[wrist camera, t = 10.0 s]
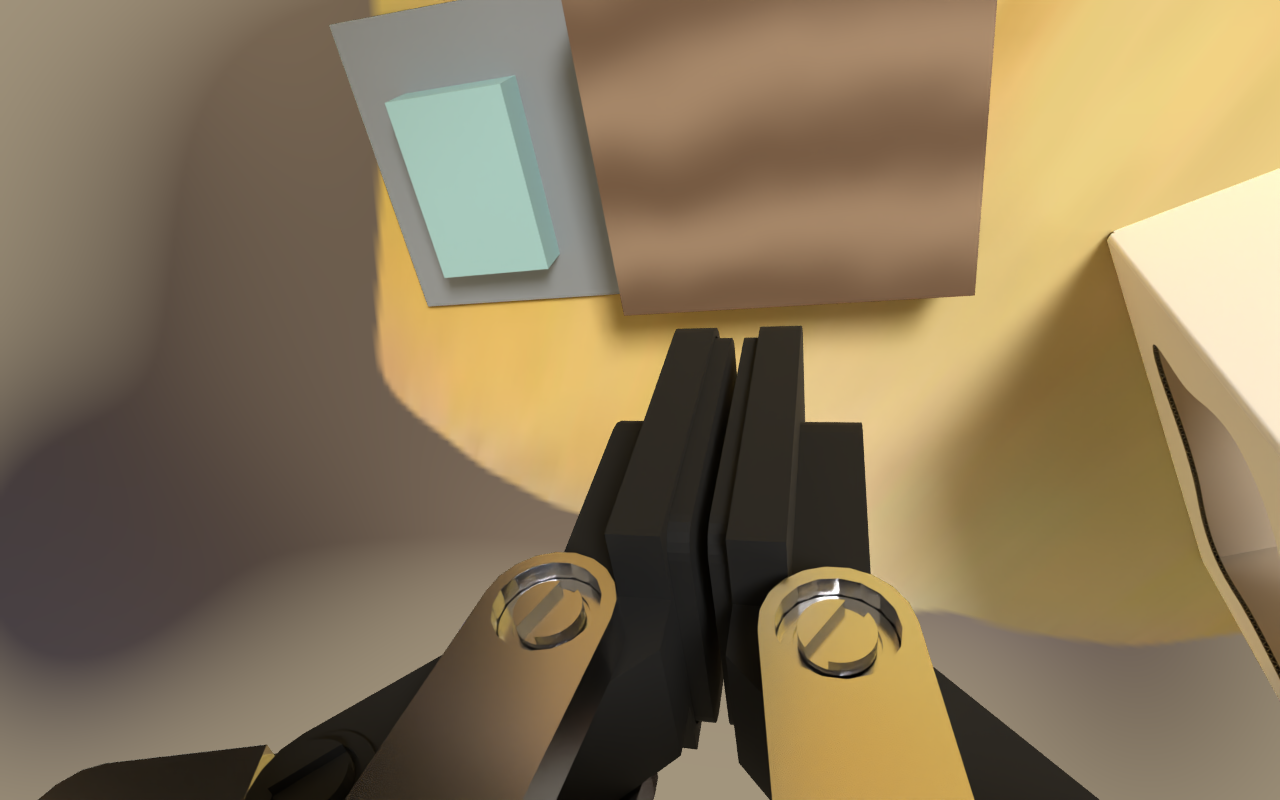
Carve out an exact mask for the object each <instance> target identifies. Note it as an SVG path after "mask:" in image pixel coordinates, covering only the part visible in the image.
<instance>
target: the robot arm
mask: <svg viewBox="0 0 1280 800" xmlns="http://www.w3.org/2000/svg"><path fill="white" fill-rule="evenodd" d="M723 679H724V686H725V694H726V701H727V709H728V717H729V723H730V724H731V725H734V728H735V736H736V744H737V752H738V759H739V763H740V765H742V767H743V768H744V769H745V771H746V772H747V773H748V774H749V775H750V776H751V778H752V779H753V780H754V781H755V783H756V784H757V785H758V786H759V787H760V789H761V790H762V791H763V792H764V793H765V795H766V796H767V797H768V798H769V799H770V800H1099V799H1098V798H1097V797H1095V796H1094V795H1093V794H1092V793H1090V792H1089V791H1088V790H1087V789H1085V788H1084V787H1083V786H1082V785H1080V784H1079V783H1078V782H1077V781H1075V780H1074V779H1073V778H1072V777H1070V776H1069V775H1068V774H1067V773H1065V772H1064V771H1063V770H1062V769H1060V768H1059V767H1058V766H1057V765H1055V764H1054V763H1053V762H1052V761H1050V760H1049V759H1048V758H1047V757H1045V756H1044V755H1043V754H1042V753H1040V752H1039V751H1038V750H1037V749H1035V748H1034V747H1033V746H1032V745H1030V744H1029V743H1028V742H1027V741H1025V740H1024V739H1023V738H1022V737H1020V736H1019V735H1018V734H1017V733H1015V732H1014V731H1013V730H1011V729H1010V728H1009V727H1008V726H1007V725H1005V724H1004V723H1003V722H1001V721H1000V720H999V719H998V718H997V717H995V716H994V715H993V714H991V713H990V712H989V711H988V710H987V709H985V708H984V707H983V706H981V705H980V704H979V703H978V702H977V701H975V700H974V699H973V698H972V697H970V696H969V695H968V694H967V693H965V692H964V691H963V690H962V689H960V688H959V687H958V686H957V685H955V684H954V683H953V682H952V681H950V680H949V679H948V678H946V677H945V676H944V675H943V674H942V673H940V672H939V671H938V670H936V669H935V668H934V667H933V665H932V663H931V659H930V656H929V653H928V649H927V646H926V644H925V640H924V637H923V633H922V630H921V627H920V624H919V621H918V619H917V617H916V615H915V613H914V611H913V609H912V608H911V606H910V604H909V602H908V601H907V600H906V599H905V598H904V597H903V596H902V595H901V594H900V593H899V592H898V591H897V590H896V589H895V588H894V587H893V586H891V585H889V584H887V583H886V582H884V581H882V580H880V579H879V578H877V577H875V576H873V575H871V573H870V555H869V537H868V519H867V500H866V482H865V464H864V446H863V429H862V423H846V422H805V403H804V363H803V331H802V326H775V327H760V331H759V337H758V338H744V342H743V347H742V352H741V357H740V362H739V368H738V373H737V371H736V359H735V347H734V341H733V338H720V336H719V332H718V329H717V328H695V329H676V331H675V333H674V336H673V339H672V342H671V345H670V347H669V350H668V353H667V356H666V359H665V362H664V365H663V367H662V370H661V373H660V376H659V379H658V382H657V385H656V387H655V390H654V393H653V396H652V399H651V402H650V405H649V407H648V410H647V413H646V416H645V419H644V421H620V422H618V423H617V424H616V426H615V427H614V429H613V431H612V434H611V436H610V439H609V441H608V444H607V446H606V449H605V451H604V454H603V456H602V459H601V461H600V464H599V466H598V469H597V471H596V474H595V476H594V479H593V481H592V484H591V486H590V489H589V491H588V494H587V496H586V499H585V501H584V504H583V506H582V509H581V511H580V514H579V516H578V519H577V521H576V524H575V526H574V529H573V532H572V534H571V537H570V539H569V541H568V544H567V546H566V549H565V552H554V553H549V554H543V555H537V556H534V557H532V558H530V559H527V560H525V561H522V562H520V563H518V564H516V565H514V566H513V567H511V568H510V569H508V570H507V571H505V572H504V573H503V574H501V575H500V576H499V577H498V578H497V579H496V580H495V581H494V582H493V584H492V585H491V586H490V587H489V588H488V589H487V590H486V592H485V593H484V594H483V596H482V597H481V599H480V601H479V602H478V603H477V605H476V606H475V608H474V609H473V611H472V612H471V614H470V615H469V616H468V618H467V619H466V621H465V622H464V624H463V625H462V627H461V629H460V630H459V631H458V633H457V634H456V636H455V637H454V639H453V640H452V642H451V643H450V645H449V646H448V648H447V649H446V650H445V652H444V654H443V655H441V656H440V657H438V658H436V659H434V660H433V661H431V662H429V663H427V664H425V665H424V666H422V667H420V668H419V669H417V670H415V671H413V672H411V673H410V674H408V675H406V676H404V677H403V678H401V679H399V680H397V681H396V682H394V683H392V684H390V685H389V686H387V687H385V688H383V689H381V690H380V691H378V692H376V693H374V694H373V695H371V696H369V697H367V698H366V699H364V700H362V701H360V702H359V703H357V704H355V705H353V706H352V707H350V708H348V709H346V710H344V711H343V712H341V713H339V714H337V715H336V716H334V717H332V718H330V719H329V720H327V721H325V722H324V723H322V724H320V725H318V726H317V727H315V728H313V729H311V730H309V731H308V732H306V733H304V734H302V735H301V736H300V737H298V738H297V739H295V740H294V741H293V742H291V743H290V744H288V745H287V746H285V747H284V748H283V749H281V750H280V751H279V752H278V753H276V754H273V752H272V751H271V750H270V748H269V747H268V745H259V746H250V747H242V748H233V749H225V750H216V751H208V752H199V753H190V754H182V755H173V756H165V757H156V758H147V759H139V760H130V761H121V762H113V763H105V764H101V765H98V766H94V767H91V768H87V769H84V770H81V771H79V772H77V773H76V774H74V775H72V776H70V777H69V778H67V779H65V780H63V781H61V782H60V783H58V784H56V785H55V786H54V787H53V788H51V789H50V790H49V791H48V792H47V793H45V794H44V795H43V796H42V797H41V798H39V799H38V800H653V799H654V796H655V792H656V786H657V781H658V773H657V772H659V771H660V770H661V769H663V768H664V767H666V766H667V765H668V764H670V763H671V762H672V761H674V760H675V759H677V758H678V757H679V756H681V752H682V748H690V749H697V748H698V742H699V735H700V728H701V722H702V721H704V722H713V723H716V721H717V718H718V714H719V708H720V701H721V693H722V686H723Z"/></svg>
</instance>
